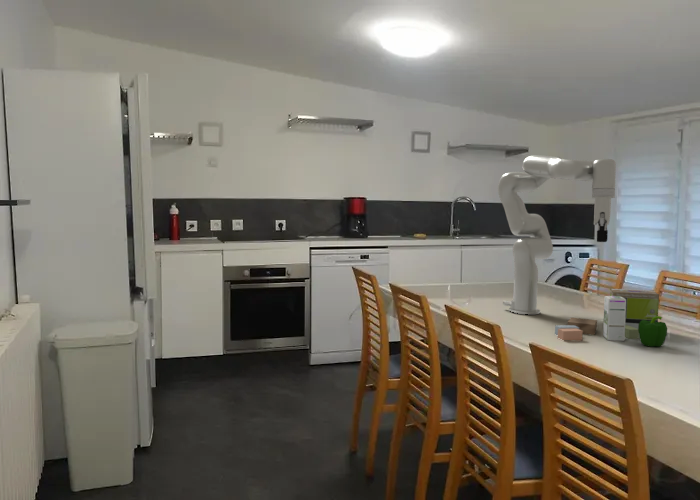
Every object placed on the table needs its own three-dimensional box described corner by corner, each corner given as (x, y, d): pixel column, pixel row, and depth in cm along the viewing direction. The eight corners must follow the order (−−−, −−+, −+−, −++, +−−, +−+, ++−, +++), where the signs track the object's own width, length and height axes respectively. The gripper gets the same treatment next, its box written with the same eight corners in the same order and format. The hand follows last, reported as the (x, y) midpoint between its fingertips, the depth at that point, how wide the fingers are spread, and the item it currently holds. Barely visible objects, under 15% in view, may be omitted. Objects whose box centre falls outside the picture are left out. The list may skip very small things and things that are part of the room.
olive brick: (638, 339, 193) (638, 329, 192) (628, 339, 192) (629, 329, 192) (627, 334, 200) (627, 325, 199) (617, 334, 199) (618, 325, 199)
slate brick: (559, 337, 194) (559, 327, 194) (554, 335, 197) (555, 325, 197) (578, 337, 194) (579, 327, 194) (573, 335, 198) (574, 325, 198)
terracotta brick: (562, 341, 188) (563, 331, 188) (557, 338, 192) (557, 328, 192) (582, 340, 190) (582, 330, 189) (576, 338, 193) (576, 328, 193)
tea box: (652, 329, 208) (654, 289, 207) (657, 335, 199) (660, 294, 198) (608, 325, 213) (610, 287, 212) (611, 331, 204) (613, 291, 202)
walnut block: (567, 332, 202) (567, 321, 202) (570, 328, 210) (571, 317, 209) (594, 335, 198) (594, 324, 197) (596, 330, 205) (597, 320, 205)
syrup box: (625, 341, 189) (627, 298, 188) (606, 340, 190) (608, 298, 189) (620, 337, 195) (622, 296, 193) (601, 336, 196) (604, 295, 194)
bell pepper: (631, 344, 185) (633, 314, 185) (646, 341, 189) (648, 312, 189) (655, 350, 178) (657, 319, 177) (671, 347, 182) (672, 316, 181)
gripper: (593, 195, 211) (592, 240, 212) (590, 193, 196) (589, 242, 197) (615, 194, 208) (613, 240, 209) (614, 192, 193) (613, 242, 194)
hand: (602, 241), depth 203 cm, fingers open, 9 cm apart
